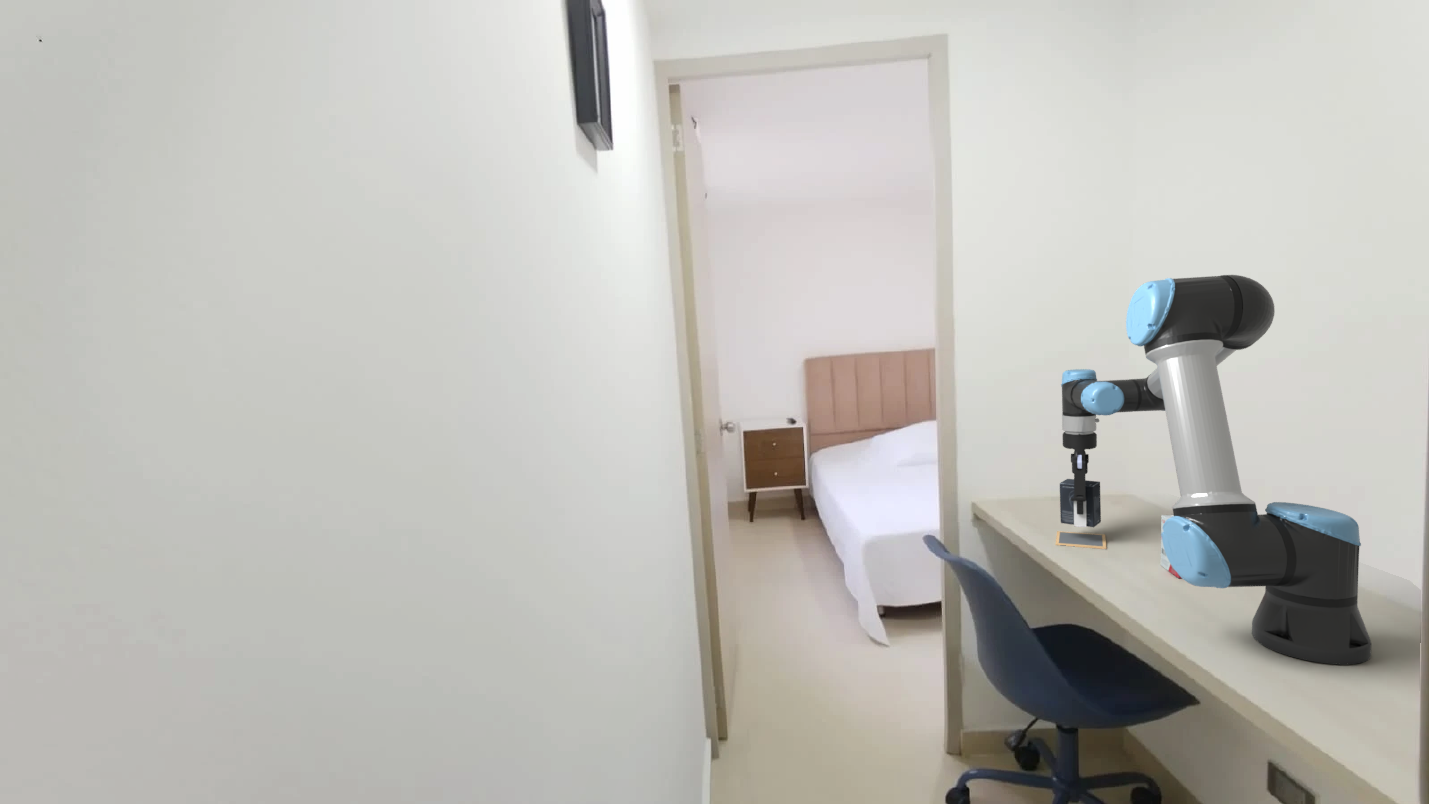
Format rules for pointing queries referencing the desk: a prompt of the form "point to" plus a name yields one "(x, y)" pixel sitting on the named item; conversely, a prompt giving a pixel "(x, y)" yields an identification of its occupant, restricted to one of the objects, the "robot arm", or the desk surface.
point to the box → (1091, 502)
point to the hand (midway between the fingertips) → (1080, 522)
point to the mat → (1081, 539)
